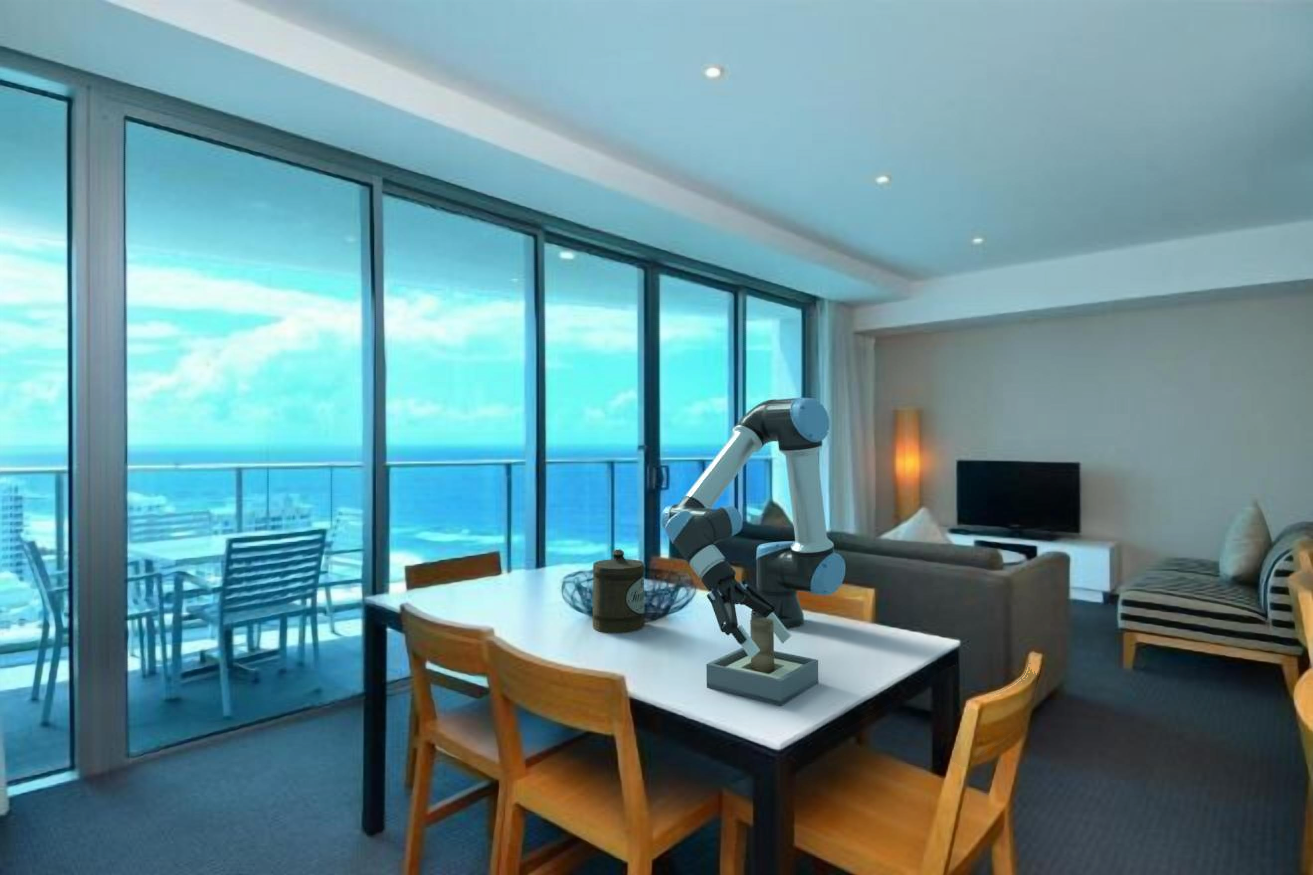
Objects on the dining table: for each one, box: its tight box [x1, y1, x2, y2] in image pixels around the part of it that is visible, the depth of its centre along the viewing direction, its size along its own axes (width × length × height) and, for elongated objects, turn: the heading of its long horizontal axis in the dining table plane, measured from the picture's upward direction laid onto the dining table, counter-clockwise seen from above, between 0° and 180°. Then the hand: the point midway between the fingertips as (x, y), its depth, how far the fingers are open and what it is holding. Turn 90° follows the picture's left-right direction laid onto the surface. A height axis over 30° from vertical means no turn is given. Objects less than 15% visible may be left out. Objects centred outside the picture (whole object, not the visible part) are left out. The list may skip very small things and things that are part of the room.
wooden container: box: [592, 549, 645, 634], centre depth 205 cm, size 15×15×22 cm
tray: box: [705, 647, 819, 707], centre depth 156 cm, size 17×18×5 cm
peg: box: [749, 618, 775, 674], centre depth 156 cm, size 5×5×13 cm
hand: (771, 646), depth 154 cm, fingers open, 13 cm apart
